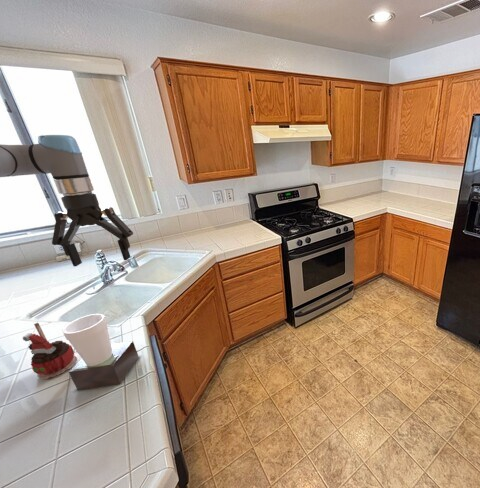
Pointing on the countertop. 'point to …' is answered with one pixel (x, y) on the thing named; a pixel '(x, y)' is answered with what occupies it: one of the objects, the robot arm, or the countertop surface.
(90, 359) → the foam cup
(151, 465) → the countertop surface
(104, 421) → the countertop surface
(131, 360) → the box
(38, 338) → the cake
